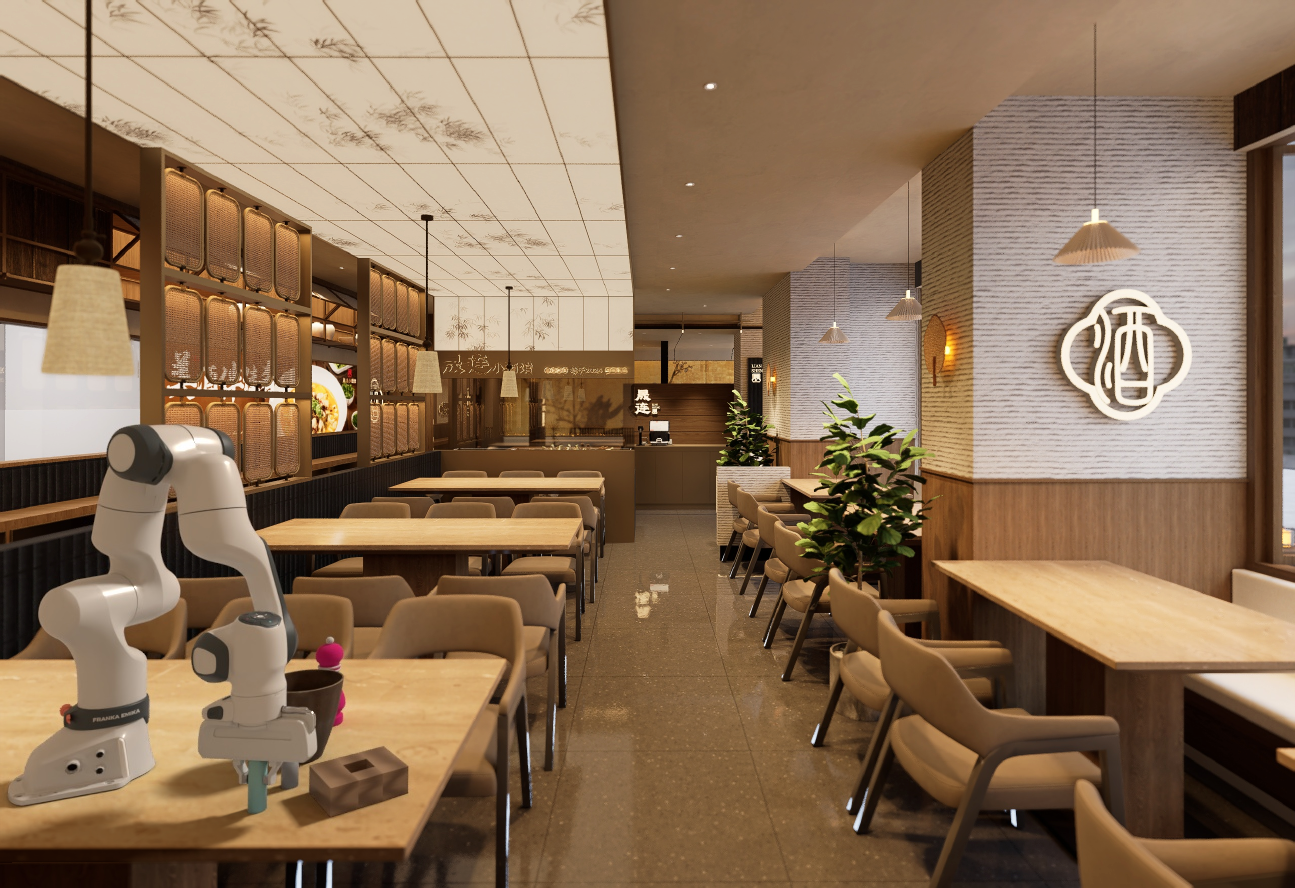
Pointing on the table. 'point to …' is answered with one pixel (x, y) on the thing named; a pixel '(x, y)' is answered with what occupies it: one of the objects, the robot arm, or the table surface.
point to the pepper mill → (332, 668)
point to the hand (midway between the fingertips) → (257, 783)
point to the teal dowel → (257, 786)
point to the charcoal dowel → (289, 775)
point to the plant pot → (316, 699)
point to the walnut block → (357, 780)
